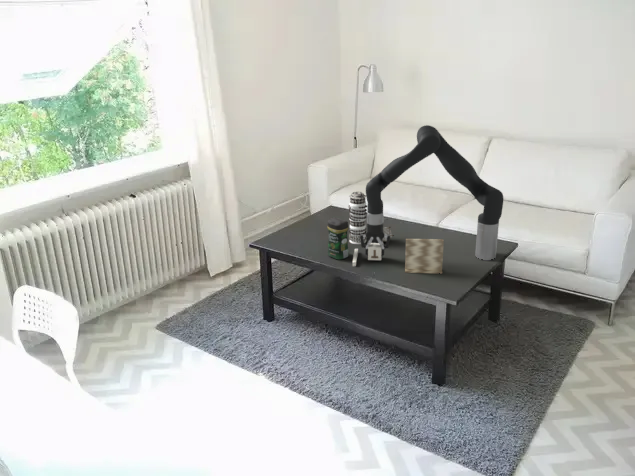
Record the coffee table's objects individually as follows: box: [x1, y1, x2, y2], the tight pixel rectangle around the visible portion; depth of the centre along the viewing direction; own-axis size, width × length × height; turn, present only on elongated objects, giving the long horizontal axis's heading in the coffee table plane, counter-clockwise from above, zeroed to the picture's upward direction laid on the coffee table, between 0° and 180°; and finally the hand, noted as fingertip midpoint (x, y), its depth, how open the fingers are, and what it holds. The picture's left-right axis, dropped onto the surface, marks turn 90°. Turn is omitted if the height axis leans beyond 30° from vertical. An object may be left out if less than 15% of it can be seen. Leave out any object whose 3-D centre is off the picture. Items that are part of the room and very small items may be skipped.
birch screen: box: [404, 238, 445, 275], centre depth 262 cm, size 16×4×15 cm, turn 83°
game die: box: [382, 226, 395, 243], centre depth 297 cm, size 9×8×10 cm
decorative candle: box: [348, 191, 368, 245], centre depth 295 cm, size 9×9×25 cm
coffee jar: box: [327, 216, 350, 260], centre depth 279 cm, size 10×8×19 cm
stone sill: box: [352, 248, 359, 267], centre depth 279 cm, size 16×2×2 cm, turn 173°
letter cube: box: [367, 243, 382, 261], centre depth 276 cm, size 6×6×6 cm
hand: (374, 255), depth 277 cm, fingers closed on letter cube, 6 cm apart
